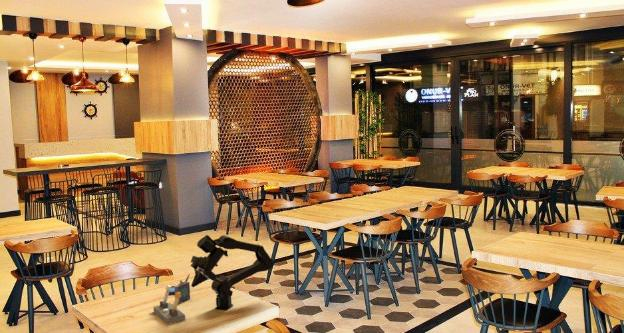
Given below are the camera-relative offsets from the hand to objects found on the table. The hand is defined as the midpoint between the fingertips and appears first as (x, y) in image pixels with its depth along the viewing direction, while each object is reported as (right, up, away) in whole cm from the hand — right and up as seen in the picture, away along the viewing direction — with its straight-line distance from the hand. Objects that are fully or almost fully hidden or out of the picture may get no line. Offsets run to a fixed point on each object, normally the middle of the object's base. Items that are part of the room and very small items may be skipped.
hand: (192, 286), depth 255 cm
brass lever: (-8, -11, -4) cm, 14 cm away
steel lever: (-15, -10, +7) cm, 19 cm away
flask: (-9, -12, +21) cm, 26 cm away
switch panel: (-11, -14, +2) cm, 18 cm away
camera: (-15, -11, +38) cm, 42 cm away
